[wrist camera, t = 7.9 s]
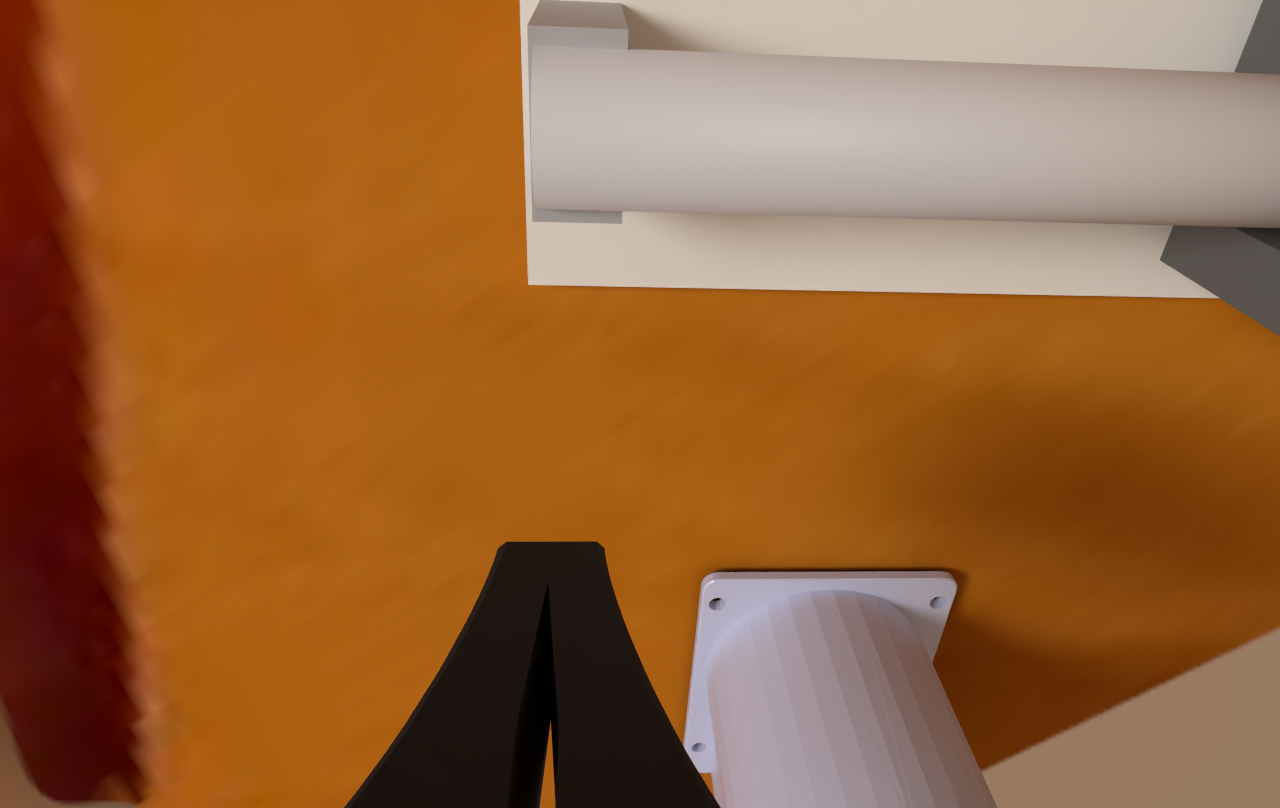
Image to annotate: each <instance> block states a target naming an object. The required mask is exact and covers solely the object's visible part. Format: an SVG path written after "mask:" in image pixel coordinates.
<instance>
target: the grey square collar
mask: <svg viewBox="0 0 1280 808" xmlns="http://www.w3.org/2000/svg"><path fill="white" fill-rule="evenodd" d="M1234 73H1260V74H1280V0H1263V1H1262V4H1261V6H1260V9H1259V11H1258V14H1257V16H1256V19H1255V21H1254V24H1253V26H1252V29H1251V31H1250V34H1249V36H1248V39H1247V41H1246V44H1245V46H1244V49H1243V51H1242V54H1241V56H1240V59H1239V61H1238V64H1237V66H1236V69H1235V72H1234ZM1160 261H1162V262H1163V263H1165V264H1167V265H1168V266H1170V267H1171V268H1173V269H1175V270H1176V271H1178V272H1179V273H1181V274H1182V275H1184V276H1186V277H1187V278H1189V279H1190V280H1192V281H1194V282H1195V283H1197V284H1198V285H1200V286H1201V287H1203V288H1205V289H1206V290H1208V291H1209V292H1211V293H1213V294H1214V295H1216V296H1217V297H1219V298H1220V299H1222V300H1224V301H1225V302H1227V303H1228V304H1230V305H1232V306H1233V307H1235V308H1236V309H1238V310H1239V311H1241V312H1243V313H1244V314H1246V315H1247V316H1249V317H1251V318H1252V319H1254V320H1255V321H1257V322H1258V323H1260V324H1262V325H1263V326H1265V327H1266V328H1268V329H1270V330H1271V331H1273V332H1274V333H1276V334H1277V335H1279V336H1280V228H1255V227H1216V226H1177V225H1173V227H1172V230H1171V232H1170V235H1169V237H1168V240H1167V243H1166V245H1165V248H1164V250H1163V253H1162V255H1161V258H1160Z"/></svg>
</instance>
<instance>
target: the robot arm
mask: <svg viewBox="0 0 1280 808" xmlns="http://www.w3.org/2000/svg"><path fill="white" fill-rule="evenodd" d="M956 591H957V584H956V582H955V580H954V578H953V576H952V575H951V574H950V573H948V572H943V571H876V572H716V573H712V574H709V575H707V576H706V577H705V578H704V579H703V581H702V584H701V591H700V600H699V609H698V618H697V626H696V635H695V644H694V653H693V662H692V671H691V680H690V689H689V698H688V707H687V716H686V724H685V733H684V742H683V745H682V743H681V741H680V739H679V737H678V736H677V734H676V732H675V730H674V728H673V726H672V725H671V723H670V721H669V719H668V717H667V715H666V713H665V711H664V709H663V707H662V705H661V703H660V701H659V699H658V697H657V695H656V693H655V691H654V689H653V687H652V685H651V683H650V681H649V679H648V676H647V674H646V672H645V670H644V668H643V665H642V663H641V661H640V658H639V656H638V654H637V651H636V649H635V647H634V644H633V642H632V640H631V637H630V635H629V633H628V630H627V627H626V625H625V622H624V620H623V617H622V614H621V611H620V608H619V605H618V602H617V600H616V597H615V593H614V590H613V587H612V583H611V580H610V576H609V572H608V567H607V563H606V557H605V549H604V548H603V547H602V546H601V545H600V544H599V543H598V542H506V543H504V544H503V545H502V546H501V547H499V548H498V550H497V553H496V556H495V560H494V562H493V565H492V567H491V570H490V572H489V575H488V577H487V580H486V582H485V584H484V587H483V589H482V591H481V593H480V595H479V597H478V599H477V601H476V603H475V605H474V607H473V610H472V612H471V614H470V616H469V618H468V620H467V622H466V623H465V625H464V627H463V629H462V631H461V632H460V634H459V636H458V638H457V640H456V641H455V643H454V645H453V647H452V649H451V651H450V652H449V654H448V656H447V658H446V660H445V661H444V663H443V665H442V667H441V668H440V670H439V672H438V673H437V675H436V677H435V678H434V680H433V681H432V683H431V684H430V686H429V688H428V689H427V691H426V692H425V694H424V695H423V697H422V699H421V700H420V702H419V703H418V705H417V707H416V708H415V710H414V711H413V713H412V714H411V716H410V718H409V719H408V721H407V722H406V724H405V725H404V727H403V728H402V730H401V731H400V733H399V734H398V736H397V737H396V738H395V740H394V741H393V743H392V744H391V746H390V747H389V749H388V750H387V751H386V753H385V754H384V755H383V757H382V758H381V760H380V761H379V762H378V764H377V765H376V767H375V768H374V769H373V771H372V772H371V773H370V775H369V776H368V777H367V779H366V780H365V781H364V783H363V784H362V785H361V787H360V788H359V789H358V791H357V792H356V793H355V795H354V796H353V797H352V798H351V800H350V801H349V802H348V803H347V805H346V806H345V807H344V808H539V806H540V798H541V791H542V783H543V776H544V768H545V760H546V753H547V745H548V737H549V729H550V721H551V730H552V748H553V765H554V783H555V801H556V807H555V808H997V806H996V804H995V802H994V800H993V797H992V795H991V793H990V791H989V788H988V786H987V784H986V782H985V780H984V778H983V775H982V773H981V771H980V768H979V766H978V764H977V762H976V759H975V757H974V755H973V753H972V750H971V748H970V746H969V744H968V742H967V739H966V737H965V735H964V733H963V730H962V728H961V726H960V724H959V722H958V719H957V717H956V715H955V713H954V710H953V708H952V706H951V704H950V701H949V699H948V697H947V695H946V693H945V690H944V688H943V686H942V684H941V681H940V679H939V677H938V675H937V672H936V670H935V668H934V666H933V664H932V663H933V660H934V657H935V654H936V651H937V648H938V645H939V642H940V639H941V636H942V633H943V630H944V627H945V624H946V621H947V618H948V615H949V612H950V609H951V606H952V603H953V600H954V597H955V594H956ZM935 597H938V598H937V599H934V598H935ZM715 598H722V599H720V600H718V601H712V599H715ZM932 599H933V600H932ZM699 773H711V775H712V782H713V789H714V796H713V795H712V793H711V792H710V790H709V789H708V787H707V785H706V784H705V782H704V780H703V779H702V777H701V775H700V774H699ZM714 797H715V798H714Z"/></svg>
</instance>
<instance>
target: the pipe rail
mask: <svg viewBox="0 0 1280 808" xmlns="http://www.w3.org/2000/svg"><path fill="white" fill-rule="evenodd" d="M1262 1H1263V0H520V24H521V57H522V91H523V124H524V158H525V191H526V224H527V258H528V285H566V286H617V287H669V288H720V289H771V290H822V291H873V292H924V293H975V294H1026V295H1077V296H1128V297H1180V298H1219V297H1217V296H1216V295H1214V294H1213V293H1211V292H1209V291H1208V290H1206V289H1205V288H1203V287H1201V286H1200V285H1198V284H1197V283H1195V282H1194V281H1192V280H1190V279H1189V278H1187V277H1186V276H1184V275H1182V274H1181V273H1179V272H1178V271H1176V270H1175V269H1173V268H1171V267H1170V266H1168V265H1167V264H1165V263H1163V262H1162V261H1160V258H1161V255H1162V253H1163V250H1164V248H1165V245H1166V243H1167V240H1168V237H1169V235H1170V232H1171V230H1172V227H1173V225H1177V226H1216V227H1255V228H1280V74H1260V73H1234V72H1235V69H1236V66H1237V64H1238V61H1239V59H1240V56H1241V54H1242V51H1243V49H1244V46H1245V44H1246V41H1247V39H1248V36H1249V34H1250V31H1251V29H1252V26H1253V24H1254V21H1255V19H1256V16H1257V14H1258V11H1259V9H1260V6H1261V4H1262Z"/></svg>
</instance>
